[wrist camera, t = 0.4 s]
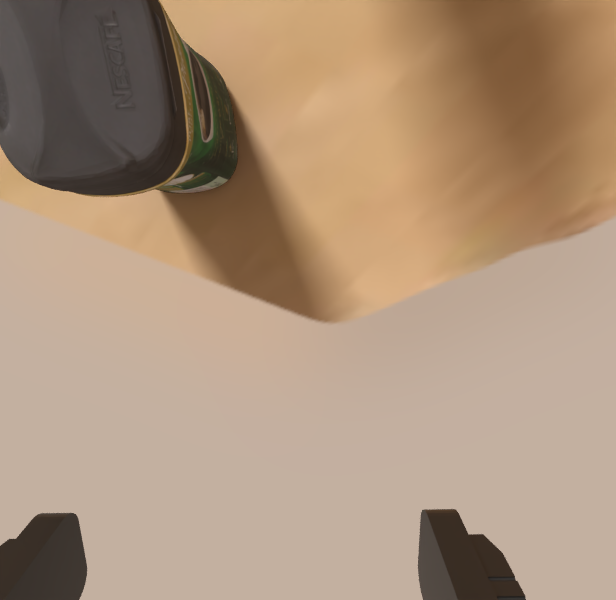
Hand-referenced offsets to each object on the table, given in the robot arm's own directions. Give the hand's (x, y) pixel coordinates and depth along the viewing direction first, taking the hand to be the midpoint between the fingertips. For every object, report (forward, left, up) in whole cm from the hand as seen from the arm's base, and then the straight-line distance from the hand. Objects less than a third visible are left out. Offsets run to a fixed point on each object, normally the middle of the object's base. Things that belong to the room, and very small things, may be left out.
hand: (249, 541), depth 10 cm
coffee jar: (-13, -8, -28) cm, 32 cm away
